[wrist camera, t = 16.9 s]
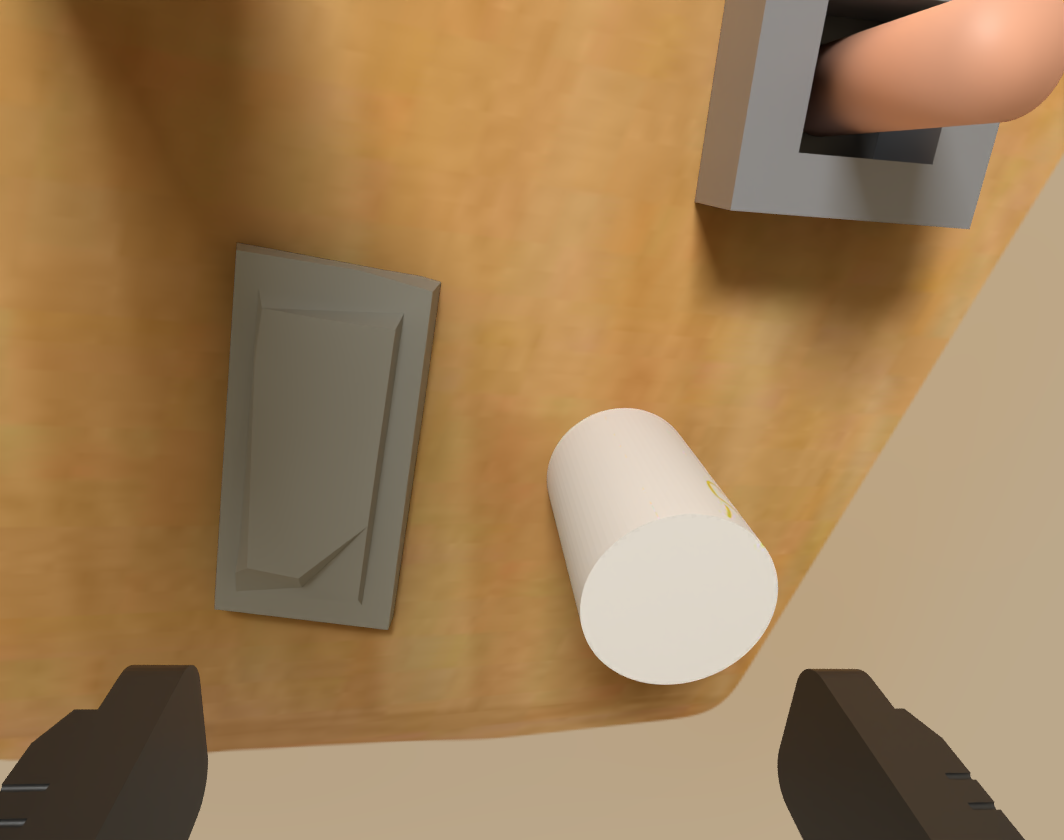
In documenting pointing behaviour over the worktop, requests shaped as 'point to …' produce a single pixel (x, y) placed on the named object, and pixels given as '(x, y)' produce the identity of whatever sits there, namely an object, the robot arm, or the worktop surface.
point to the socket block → (833, 161)
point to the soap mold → (320, 435)
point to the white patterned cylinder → (656, 551)
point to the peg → (939, 68)
